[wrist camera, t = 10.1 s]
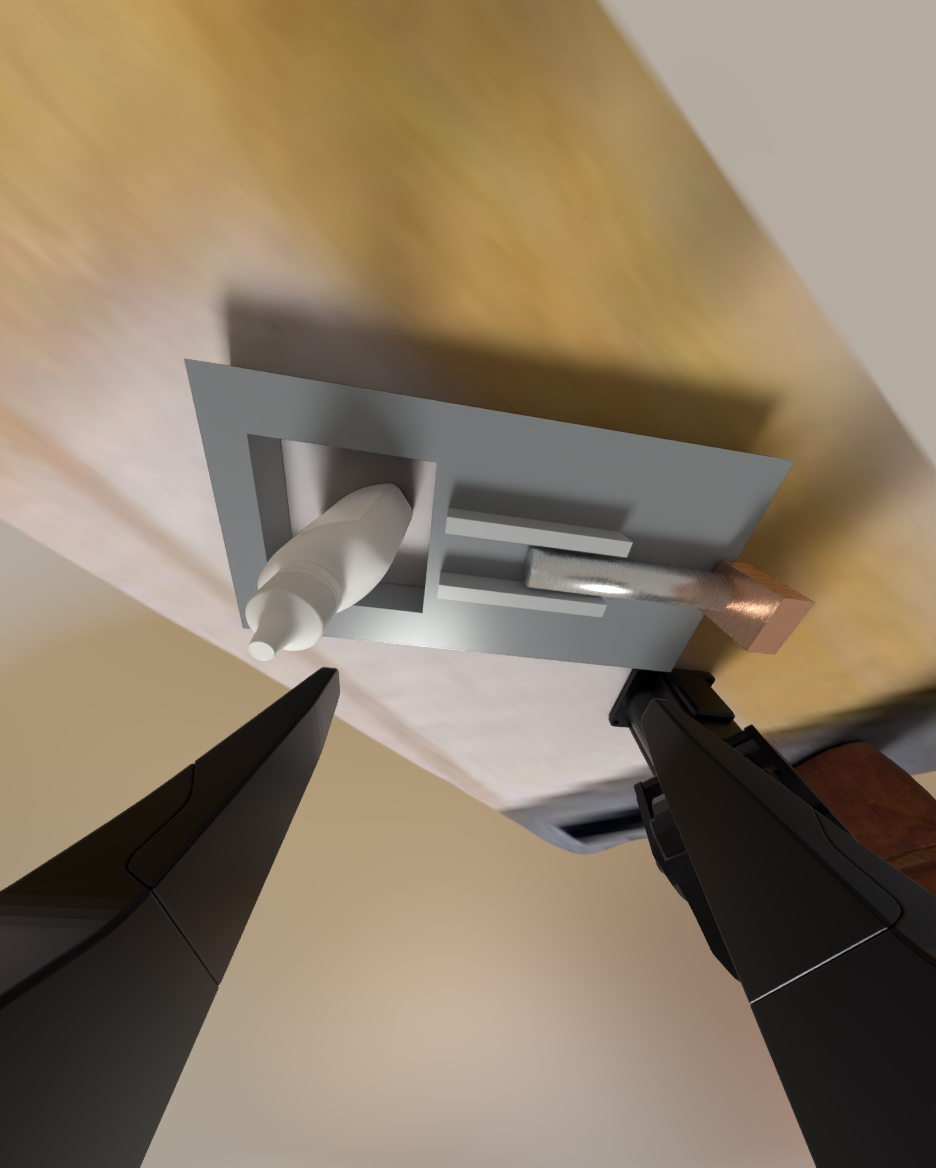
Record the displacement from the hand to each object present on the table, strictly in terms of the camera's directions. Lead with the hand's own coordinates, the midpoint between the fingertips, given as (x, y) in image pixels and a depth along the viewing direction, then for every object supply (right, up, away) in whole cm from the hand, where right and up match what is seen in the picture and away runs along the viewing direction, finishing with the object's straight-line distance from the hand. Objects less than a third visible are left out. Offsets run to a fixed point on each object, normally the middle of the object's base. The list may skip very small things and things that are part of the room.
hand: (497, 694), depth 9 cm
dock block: (0, +6, +11) cm, 13 cm away
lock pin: (+8, +4, +9) cm, 13 cm away
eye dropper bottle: (-7, +7, +11) cm, 14 cm away
